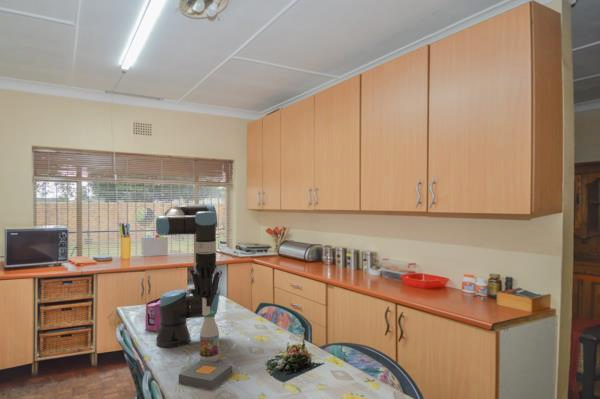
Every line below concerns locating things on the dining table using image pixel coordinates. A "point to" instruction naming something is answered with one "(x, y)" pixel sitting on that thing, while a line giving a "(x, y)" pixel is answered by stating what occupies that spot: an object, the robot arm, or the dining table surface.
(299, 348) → the plated dish
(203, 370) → the button
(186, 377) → the grey square slab
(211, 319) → the milk bottle
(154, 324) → the gum box
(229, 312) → the dining table surface
